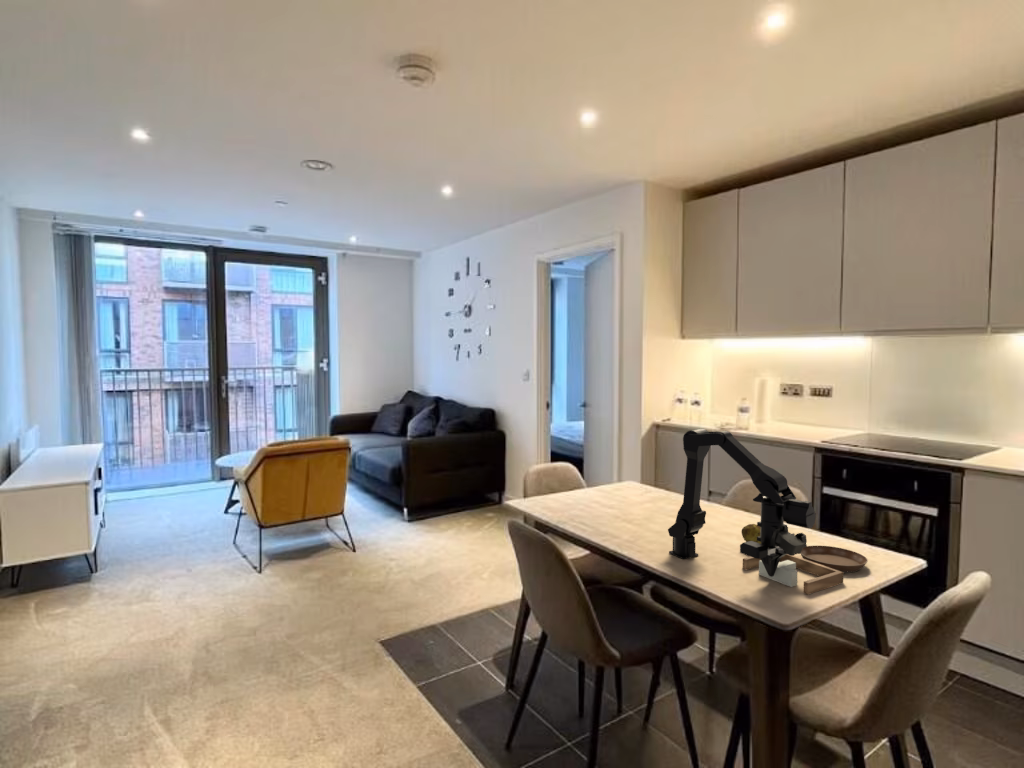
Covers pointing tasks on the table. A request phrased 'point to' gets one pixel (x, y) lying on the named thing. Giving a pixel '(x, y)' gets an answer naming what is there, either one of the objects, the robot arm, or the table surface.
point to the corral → (826, 574)
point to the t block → (782, 573)
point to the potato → (751, 533)
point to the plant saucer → (834, 558)
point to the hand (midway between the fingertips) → (771, 576)
